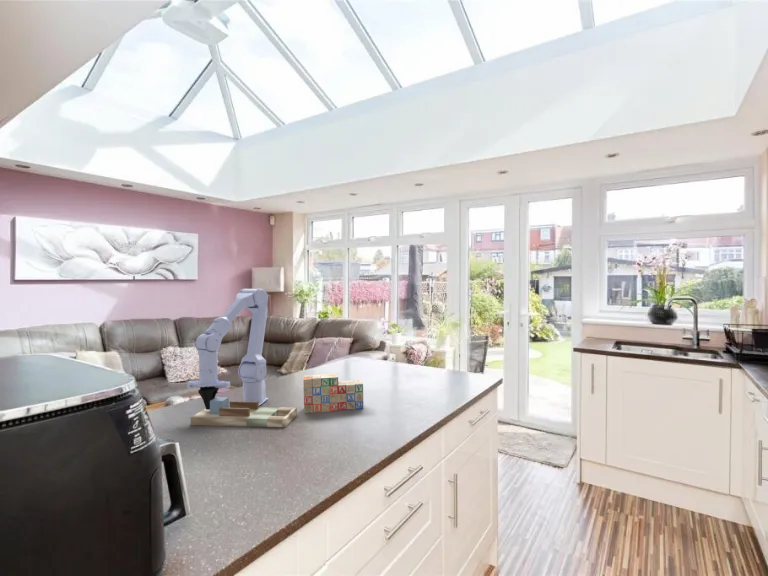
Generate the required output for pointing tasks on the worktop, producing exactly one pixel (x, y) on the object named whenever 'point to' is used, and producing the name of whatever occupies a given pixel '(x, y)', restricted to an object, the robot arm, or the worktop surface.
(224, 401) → the block
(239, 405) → the board
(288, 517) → the worktop surface
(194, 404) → the worktop surface
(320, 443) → the worktop surface
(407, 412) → the worktop surface
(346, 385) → the stack of blocks
